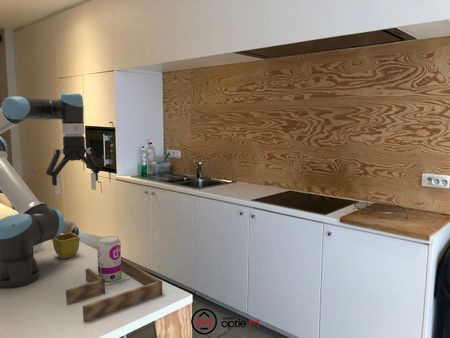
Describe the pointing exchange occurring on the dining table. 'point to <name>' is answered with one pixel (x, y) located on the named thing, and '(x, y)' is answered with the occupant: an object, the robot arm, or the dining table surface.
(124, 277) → the pad
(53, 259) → the dining table surface
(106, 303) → the channel walls
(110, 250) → the supplement can
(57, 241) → the flower pot
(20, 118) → the robot arm
